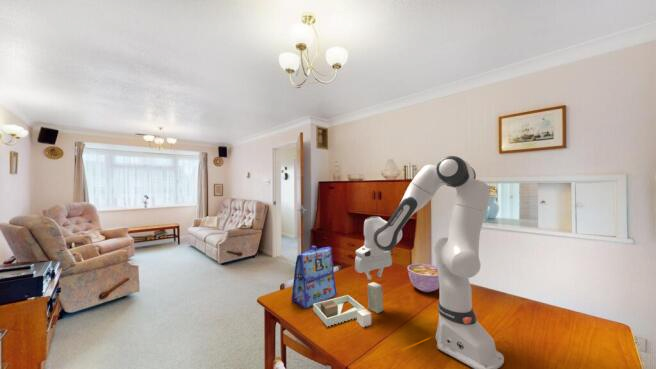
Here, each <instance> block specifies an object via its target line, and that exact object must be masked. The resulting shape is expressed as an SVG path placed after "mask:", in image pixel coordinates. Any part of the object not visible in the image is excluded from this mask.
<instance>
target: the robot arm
mask: <svg viewBox="0 0 656 369" xmlns="http://www.w3.org/2000/svg"><path fill="white" fill-rule="evenodd" d="M476 177H477V175H476V171H475V170H474V168H473V167H472V166H471V164H469V163H468V162H467V161H466V160H464V159H463V158H461V157H459V156H455V155H448V156H445V157H443V158H441V159H440V160H439V161H438V162H437V165H434V164H426V165H424V166H423V167H422V168H421V169H420V170H419V171H418V172H417V174H416V175H415V176H414V177H413V179H412V180H411V182H410V183H409V185H408V186H407V189H406V190H405V192H404V195H403V197H402V199H401V201H400V202H399V205H398V207H397V208H396V210H395V211H394V212H393V213H392V214H391V216H390V218H389V219H388V220H387V221H386V220H385V219H383V218H382V217H380V216H377V215H376V216H369V217H367V218H365V220H364V222H363V236H364V242H363V246H361V247H360V248H358V249H356V250H355V255H356V256H355V259H354V270H355V272H357V273H360V274H362V273H365V275H366V276H367V277H366V278H367V280H369V281H370V280H372V279H373V276H372V275H371V274H370V272H371V271H375V270H378V272H377V273H376V276H377V277H378V278H381V277H382V276H383V274H382V273H383V271H384V268H387V267H391V266H392V265H393V261H392V260H393V259H392V255H391V250H393V249H394V248H395V247H396V245H398V243H400V241H401V240H402V238H403V234H404V233H403V227H404V226H405V225H406V223H407V222H408V221H409V220H410V218H411V217H412V216H413V215H414V214H415V213H417V212H418V211H419V210H421V209H422V208H424V207H425V206H426V205H427V204H428V203H429V202H430V201H431V199H432V198H433V197H434V196H435V194H436V193H437V191H438V190H439V189H440V188H441V187H443V186H448V187H450V188H454V189H455V191H456V196H455V199H454V202H453V205H452V209H451V212H450V215H449V218H448V223H447V224H448V236H447V237H441V238H439V239H438V240H437V241H436V242H435V244H434V247H433V248H434V254H435V260H436V262H435V263H436V266H437V271H438V277H439V288H438V289H439V291H438V292H439V300H438V302H437V303H438V305H437V308H438V309H437V310H438V311H437V312H438V316H439V317H438V322H437V323H438V324H437V329H436V333H435V336H434V337H435V338H434V339H435V341H436V342H437V345H436V347H437V349H439V350H440V351H441V352H443V353H445V354H447V355H449V356H451V357H453V358H455V359H456V360H458V361H460V362H462V363H463V364H466V365H467V366H468V367H471V368H472V369H499V368H501V367H502V366H503V365H504V362H505V357H504V354H502V353H501V352H499V351H498V350H497V348H496V344H495V341H494V338H493V337H492V336H491V335H490V334H489V333H488V332H487V331H486V329H485V328H484V327H483V326H482V324H480V322H478V320H477V318H479V315H480V313H475V311H474V308H473V306H472V285H471V283H470V280H469V279H471V278H473V277H475V276H476V275H478V273H479V272H480V269H481V260H480V256H479V251H480V237H481V236H480V235H481V231H482V227H483V223H484V220H485V217H486V214H487V213H486V212H487V210H488V207H489V202H490V194H491V189H490V186H489V185H488V184H487V183H486V182H484V181H483V180H479V179H477V178H476Z"/></svg>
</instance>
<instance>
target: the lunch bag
mask: <svg viewBox="0 0 656 369" xmlns="http://www.w3.org/2000/svg"><path fill="white" fill-rule="evenodd" d="M296 256H297V257H296V260H295V267H294V277H293V283H292V291H291V292H292V294H291V301H293V302H295V303H297V304H299V305H300V306H301V307H302V308H303V309H308V308H310V307H313V304H314V303H318V302H322V301H326V300H330V299H332V298H334V297H336V296H337V295H338V292H337V287H336V280H335V279H336V278H335V273H334V262H333V250H332V247H331V246H326V247H321V248H317V246H316V245H312V246H311V250H308V251H305V252H302V253H300V254H298V255H296Z"/></svg>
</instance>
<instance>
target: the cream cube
mask: <svg viewBox="0 0 656 369" xmlns="http://www.w3.org/2000/svg"><path fill="white" fill-rule="evenodd" d="M357 322H358V323H359V326H361V327H362V328H365V326H366V327H369V326H371V325H372V313H371V312H370V311H369V310H368V309H366V308H365V309H363V310H359V311H357V318H356V323H357ZM358 323H357V324H358Z"/></svg>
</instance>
